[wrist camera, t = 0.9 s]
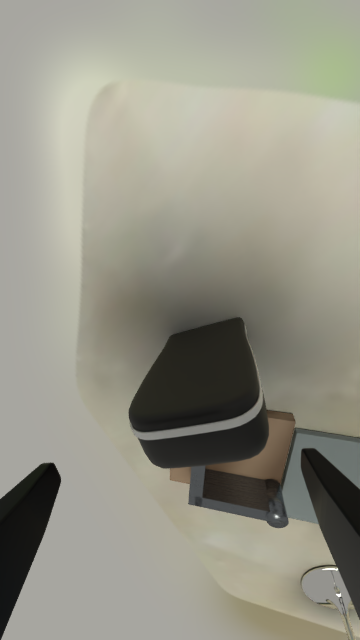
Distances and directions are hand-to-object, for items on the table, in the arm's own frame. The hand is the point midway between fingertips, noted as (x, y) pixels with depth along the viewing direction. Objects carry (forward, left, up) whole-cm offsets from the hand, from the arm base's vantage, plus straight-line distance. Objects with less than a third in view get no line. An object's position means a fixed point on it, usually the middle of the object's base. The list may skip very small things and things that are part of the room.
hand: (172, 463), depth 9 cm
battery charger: (-1, +1, -14) cm, 14 cm away
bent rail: (-4, +12, -12) cm, 18 cm away
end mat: (-14, +14, -13) cm, 24 cm away
